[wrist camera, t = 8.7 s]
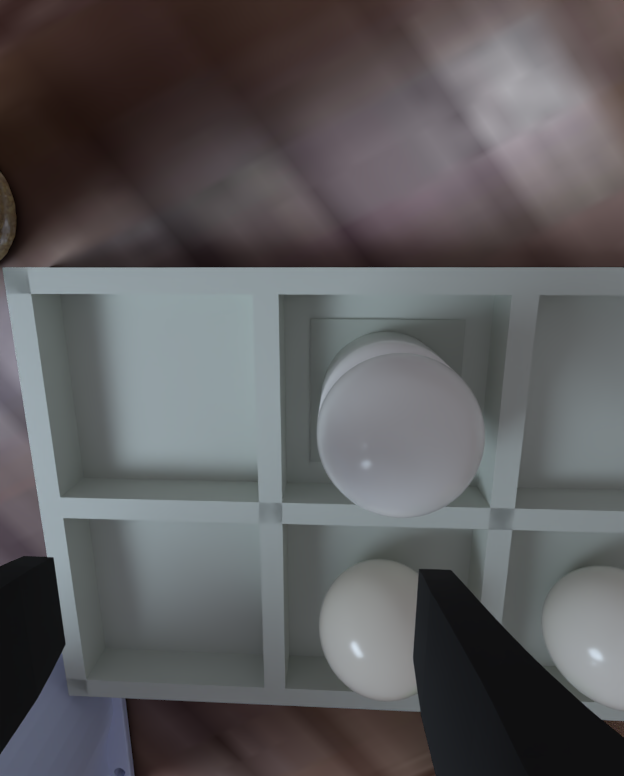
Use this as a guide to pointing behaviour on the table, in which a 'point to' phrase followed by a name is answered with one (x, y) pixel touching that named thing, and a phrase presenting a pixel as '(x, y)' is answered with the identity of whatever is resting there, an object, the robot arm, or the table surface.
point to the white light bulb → (398, 426)
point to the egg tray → (299, 460)
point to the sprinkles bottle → (6, 217)
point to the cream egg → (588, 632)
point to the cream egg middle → (372, 629)
